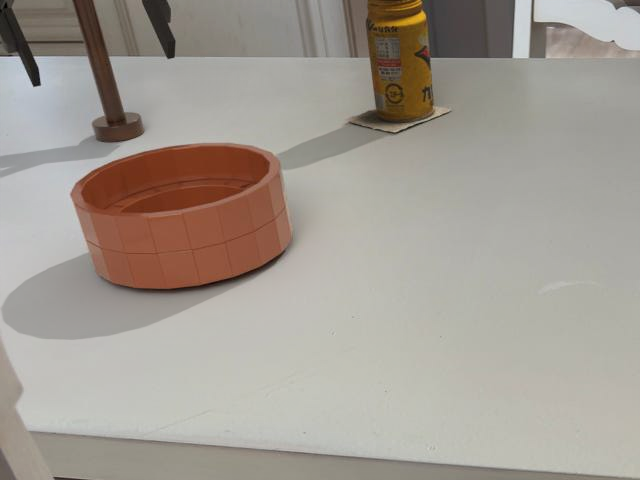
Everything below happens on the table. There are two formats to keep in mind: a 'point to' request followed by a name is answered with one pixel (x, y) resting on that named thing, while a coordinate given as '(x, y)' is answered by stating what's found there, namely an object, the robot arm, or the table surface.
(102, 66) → the stick
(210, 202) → the bowl
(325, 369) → the table surface
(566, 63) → the table surface
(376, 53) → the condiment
